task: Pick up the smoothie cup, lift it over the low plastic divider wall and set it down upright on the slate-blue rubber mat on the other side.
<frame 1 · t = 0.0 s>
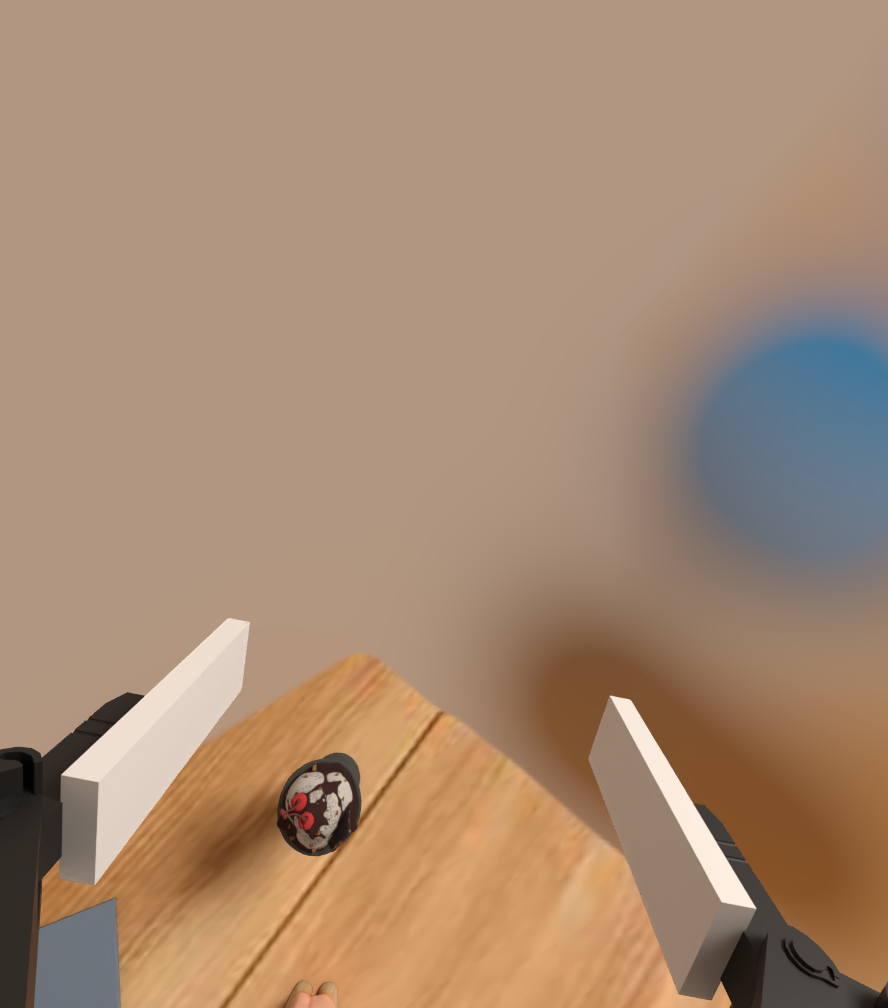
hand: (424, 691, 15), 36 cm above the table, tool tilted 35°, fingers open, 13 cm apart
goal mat: (46, 1005, 36), on the table
grandmother figurine: (319, 1001, 38), on the table
sundae: (335, 779, 44), on the table
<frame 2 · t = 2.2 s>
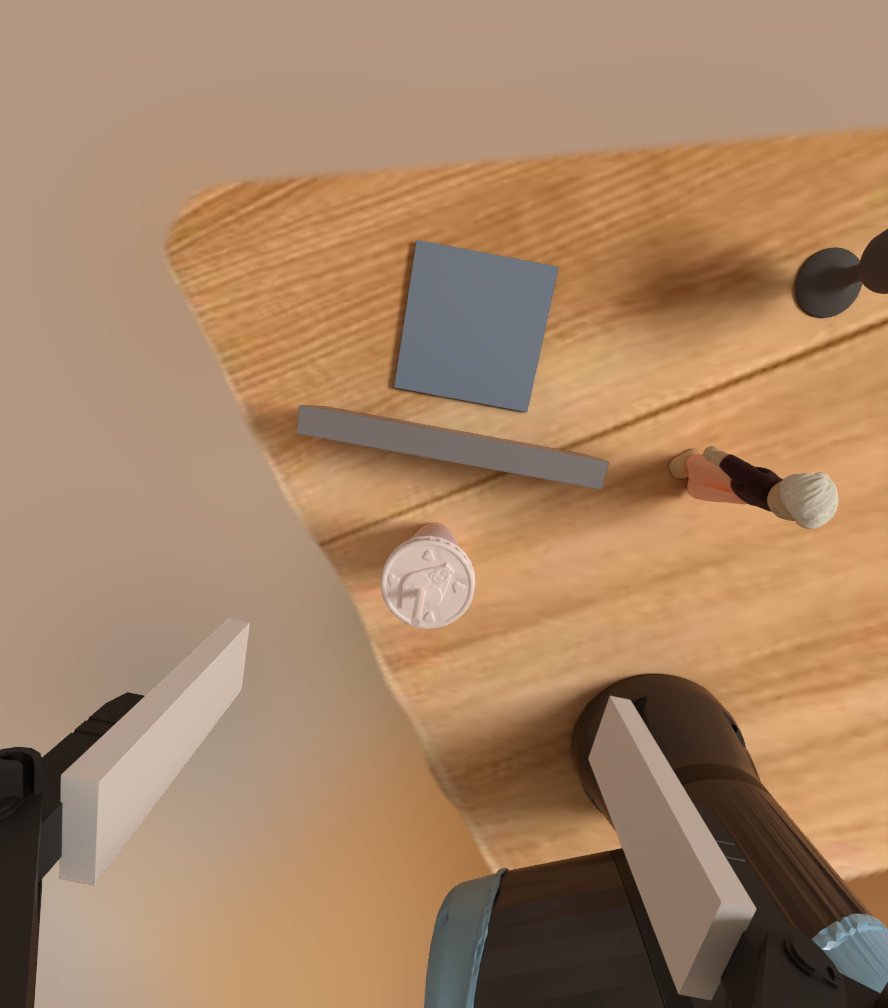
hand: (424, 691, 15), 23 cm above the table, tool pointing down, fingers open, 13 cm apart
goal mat: (473, 330, 34), on the table
smoothie: (434, 542, 38), on the table
grandmother figurine: (699, 475, 36), on the table
divider wall: (453, 442, 36), on the table
sundae: (825, 284, 33), on the table
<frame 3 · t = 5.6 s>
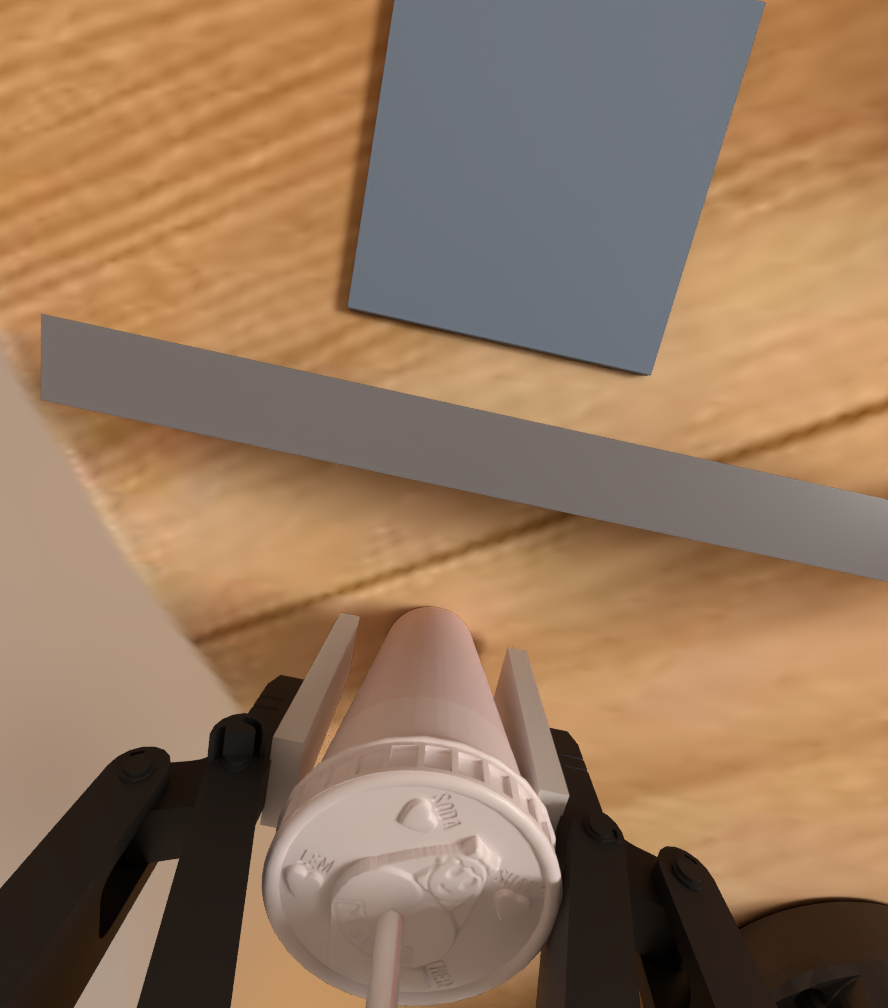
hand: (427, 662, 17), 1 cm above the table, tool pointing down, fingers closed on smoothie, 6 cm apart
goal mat: (538, 172, 14), on the table
smoothie: (429, 644, 19), on the table, touching gripper
divider wall: (477, 438, 16), on the table
when the fingers open (3 cm above the table, at t = 11.1 s): smoothie drops 1 cm, resting on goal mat.
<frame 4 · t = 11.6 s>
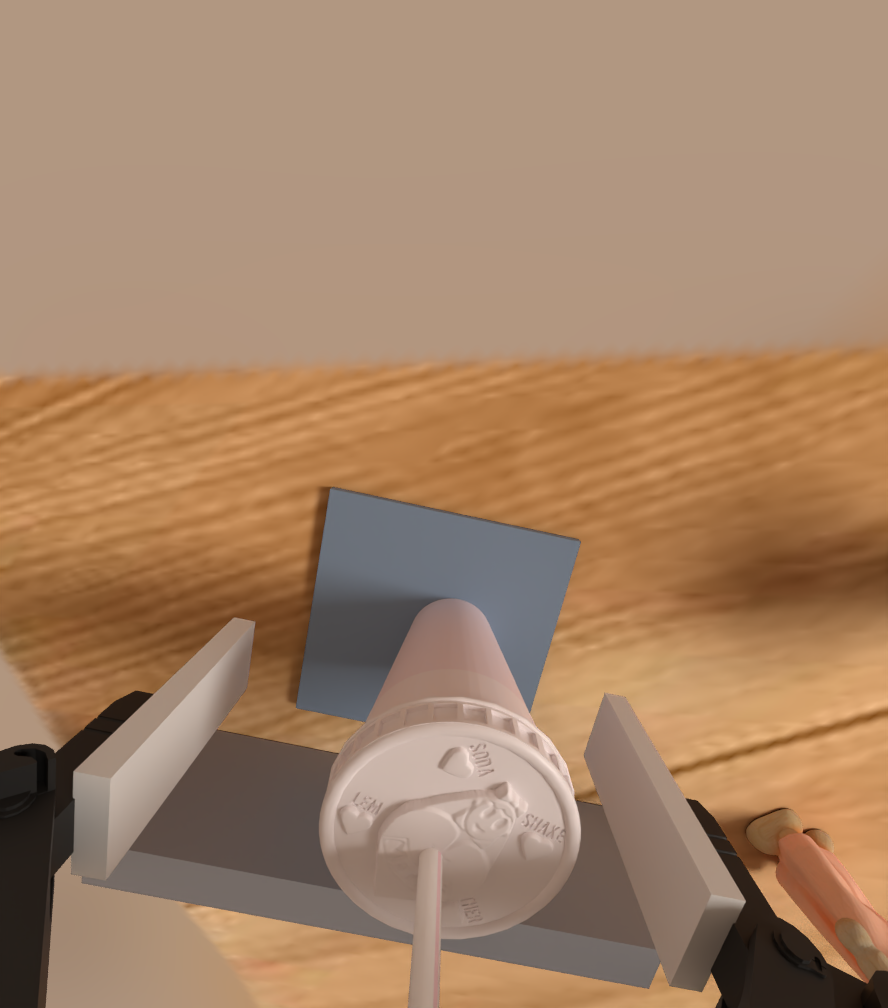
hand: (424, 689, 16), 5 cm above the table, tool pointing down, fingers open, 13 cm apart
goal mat: (431, 625, 20), on the table
smoothie: (450, 633, 20), resting on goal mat
grandmother figurine: (792, 839, 23), on the table
divider wall: (395, 781, 22), on the table
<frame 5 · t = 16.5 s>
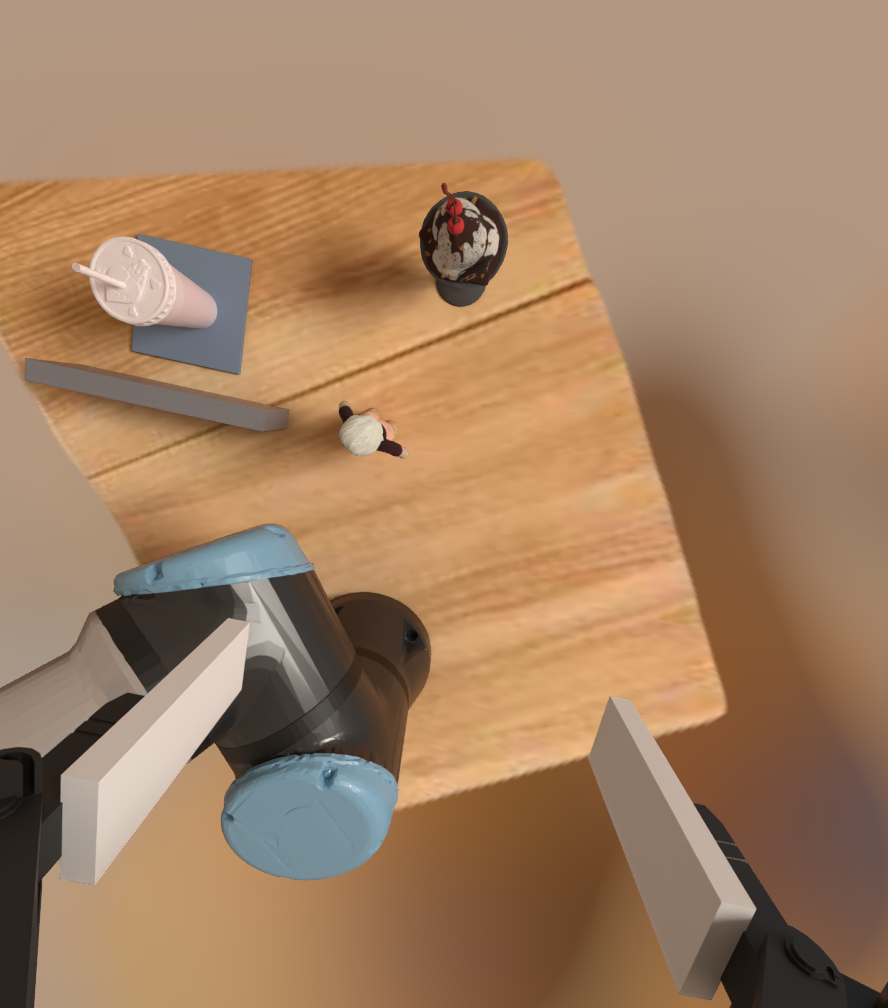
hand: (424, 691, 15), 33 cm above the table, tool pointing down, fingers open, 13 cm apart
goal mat: (191, 306, 43), on the table
smoothie: (200, 309, 43), resting on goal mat
grandmother figurine: (382, 429, 46), on the table
divider wall: (185, 396, 45), on the table
sundae: (460, 280, 43), on the table
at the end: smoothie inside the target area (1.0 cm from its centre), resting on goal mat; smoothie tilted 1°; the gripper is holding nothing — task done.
